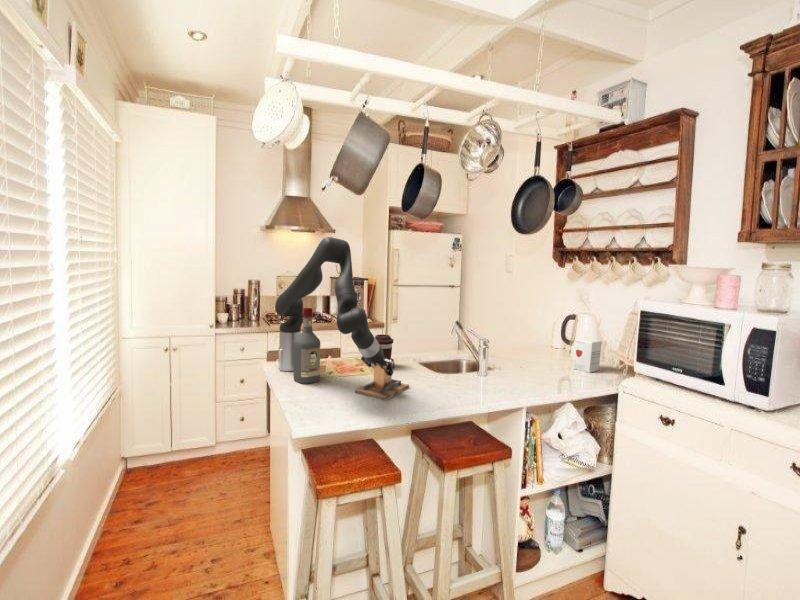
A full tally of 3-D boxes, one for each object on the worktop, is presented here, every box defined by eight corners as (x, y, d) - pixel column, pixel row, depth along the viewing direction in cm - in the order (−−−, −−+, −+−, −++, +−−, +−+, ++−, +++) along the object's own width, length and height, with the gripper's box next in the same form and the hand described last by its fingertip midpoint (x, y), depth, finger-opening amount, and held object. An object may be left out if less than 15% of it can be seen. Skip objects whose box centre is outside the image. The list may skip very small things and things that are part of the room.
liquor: (291, 379, 183) (291, 307, 179) (309, 375, 189) (311, 306, 186) (303, 385, 177) (304, 310, 173) (322, 381, 183) (323, 309, 180)
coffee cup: (372, 363, 212) (373, 333, 211) (392, 365, 212) (394, 334, 210) (370, 369, 203) (371, 337, 201) (391, 370, 202) (392, 338, 200)
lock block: (383, 390, 171) (384, 365, 170) (373, 388, 173) (374, 363, 172) (391, 386, 176) (392, 361, 175) (381, 384, 178) (382, 359, 177)
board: (385, 399, 164) (386, 392, 163) (354, 392, 170) (354, 385, 170) (409, 387, 179) (409, 381, 179) (379, 381, 186) (379, 374, 186)
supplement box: (572, 368, 219) (574, 338, 217) (582, 366, 224) (584, 337, 222) (589, 373, 211) (592, 342, 210) (599, 370, 217) (602, 340, 215)
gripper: (390, 342, 162) (404, 367, 174) (358, 337, 169) (374, 361, 181) (382, 360, 158) (397, 384, 170) (349, 353, 165) (366, 377, 177)
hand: (385, 372), depth 176 cm, fingers open, 5 cm apart
